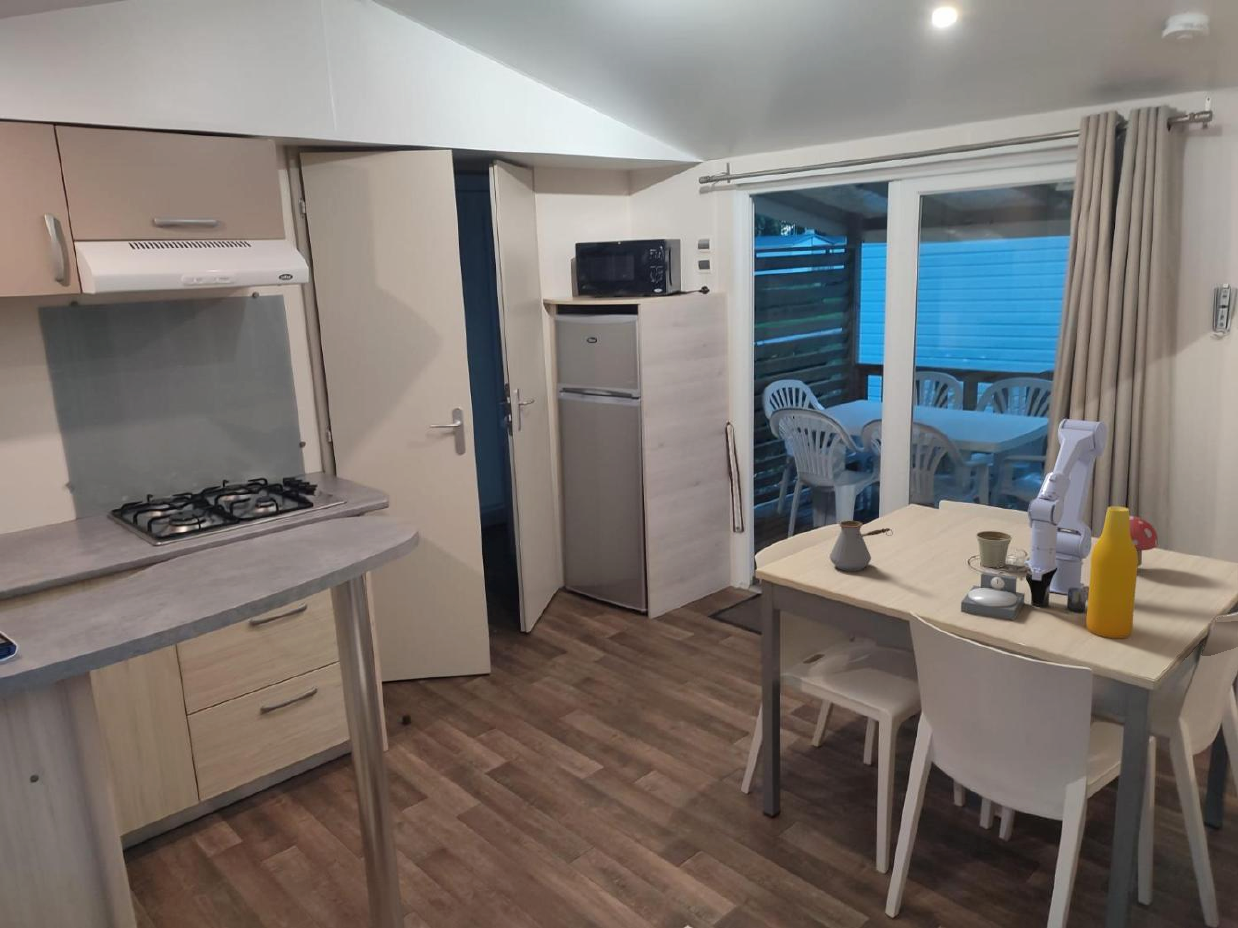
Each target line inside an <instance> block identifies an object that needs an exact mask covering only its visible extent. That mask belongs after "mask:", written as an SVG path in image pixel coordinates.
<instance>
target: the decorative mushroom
mask: <svg viewBox="0 0 1238 928" xmlns="http://www.w3.org/2000/svg"><path fill="white" fill-rule="evenodd" d="M1129 518H1130V535H1131V539H1132V541H1133V543H1134V546H1135V548H1136V551H1137V556H1138V566H1137V568H1138V567H1140V566H1141V565H1142V563H1143V562H1142V561H1143V557H1142V556H1143V552H1142V551H1149V550H1153V549H1155V548H1156V547H1158V545H1159V541H1158V540H1159V539H1158V534H1157V531H1156V530H1155V528H1154V527H1153V525H1152V524H1150V523H1149V522H1148V521H1147V520H1145V519H1143V518H1141V517H1137V516H1132V515H1129Z"/></svg>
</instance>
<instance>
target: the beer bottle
mask: <svg viewBox="0 0 1238 928" xmlns="http://www.w3.org/2000/svg"><path fill="white" fill-rule="evenodd" d="M1129 516H1130V509H1129V508H1128V507H1125V506H1117V505H1116V506H1114V505H1113V506H1107V510H1106V513H1105V519H1104V524H1103V529H1102V533H1101V535H1100V537H1098V539H1097V541H1096V543H1095V544H1094V546H1093V549H1092V551H1091V555H1090V556H1091V557H1090V571H1089V572H1090V573H1089V583H1088V585H1089V586H1088V597H1087V599H1088V600H1087V613H1086V620H1085V625H1086V628H1087V631H1089V632H1090V633H1091V634H1093V635H1096V636H1098V637H1102V638H1105V639H1106V638H1108V639H1125V638H1128V637H1130V635H1131V634H1132V632H1133V626H1134V623H1133V622H1134V610H1135V600H1136V599H1135V598H1136V589H1137V588H1136V587H1137V575H1138V567H1139V566H1138V556H1137V551H1136V548H1135V546H1134V543H1133V541H1132V539H1131V535H1130V518H1129ZM1137 566H1138V567H1137Z"/></svg>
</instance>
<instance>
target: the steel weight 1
mask: <svg viewBox="0 0 1238 928" xmlns="http://www.w3.org/2000/svg"><path fill="white" fill-rule="evenodd" d="M1050 593H1051V592H1050V586H1049V585H1048V587H1047V590H1046V593H1045V598H1044V601H1043V603H1042V604H1035V603H1033V601H1032V596H1030V605H1031V606H1033V607H1035V608H1042V609H1044V608H1048V607H1049V605H1050Z"/></svg>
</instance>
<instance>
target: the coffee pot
mask: <svg viewBox="0 0 1238 928" xmlns="http://www.w3.org/2000/svg"><path fill="white" fill-rule="evenodd" d="M838 525H839V527H840V529H841V530H840V533H839V535H838V537H837V539H836V541H835V544H834V545H833V548H832V549H831V551H830V553H829V560H830V561H831V562H832V564H833V565H834V566H835V567H836V568H837V569H839V570H842V571H845V572H846V571H847V572H848V571H849V572H854V571H855V572H856V571H861V570H864V568H865V567H867V566H868V565H869V563H870V562H871V560H872V556H871V553H870V551H869V548H868V546H867V544H866V542H865V539H864V537H870V536H874V535H875V536H877V535H879V534H882V533H883V534H886V536H888V537H890V536H893V534H894V533H893V530H892V529H890V528H887V527H886V528H881V529H876V530H872V531H868V532H864V533H861V528H862V526H863V522H861V521H858V520H857V521H856V520H843V521H840V522H839V523H838ZM889 531H891V535H889V534H887V532H889Z"/></svg>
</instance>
